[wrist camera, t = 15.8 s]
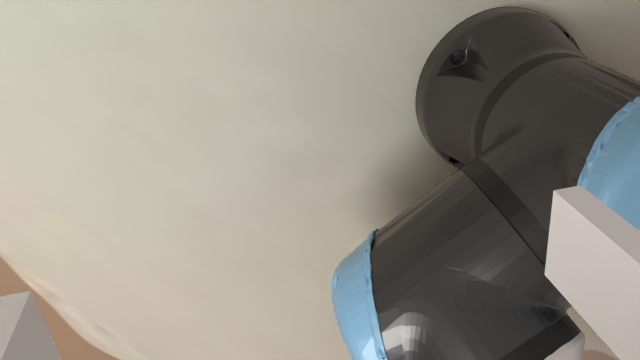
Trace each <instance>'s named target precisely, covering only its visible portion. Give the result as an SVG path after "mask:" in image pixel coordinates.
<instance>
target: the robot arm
mask: <svg viewBox="0 0 640 360" xmlns="http://www.w3.org/2000/svg"><path fill="white" fill-rule="evenodd" d="M416 114H417V119H418V123H419V126H420V129H421V131H422V133H423V135H424V137H425V139H426V140H427V142H428V143H429V144H430V145H431V146H432V148H433V149H434V150H435V151H436V152H437V153H438V154H439V155H440V156H441V157H442V158H443V159H444V160H445V161H447V162H448V163H449V164H451V165H453V166H454V167H456V168H458V169H459V170H458V171H456V172H455V173H454V174H452V175H451V176H450V177H448V178H447V179H446V180H444V181H443V182H442V183H440V184H439V185H438V186H437V187H435V188H434V189H433V190H431V191H430V192H429V193H427V194H426V195H425V196H423V197H422V198H421V199H419V200H418V201H417V202H415V203H414V204H413V205H411V206H410V207H409V208H408V209H406V210H405V211H404V212H402V213H401V214H400V215H398V216H397V217H396V218H394V219H393V220H392V221H390V222H389V223H388V224H386V225H385V226H384V227H382V228H381V229H376V230H374V231H373V232H372V233H370V234H369V236H368V238H367V240H366V241H364V242H363V243H362V244H361V245H360V246H359V247H357V248H356V249H355V250H354V251H353V252H352V253H350V254H349V255H348V256H347V257H346V258H345V259H343V260H342V261H341V262H340V264H339V265H338V266H337V268H336V270H335V272H334V275H333V280H332V301H333V307H334V311H335V315H336V319H337V322H338V325H339V328H340V331H341V334H342V336H343V339H344V341H345V344H346V346H347V348H348V351H349V353H350V355H351V357H352V359H353V360H583V352H584V339H585V336H584V334H583V333H582V332H581V331H580V329H579V328H578V327H577V326H576V324H575V323H574V322H573V321H572V320H571V318H570V317H569V316H568V315H567V313H566V310H567V309H568V308H570V307H571V306H573V307H574V309H575V310H576V311H577V312H578V313H579V314H580V315H581V316H582V318H583V319H584V320H585V321H586V322H587V323H588V324H589V325H590V327H591V328H592V329H593V330H594V331H595V332H596V333H597V334H598V336H599V337H600V338H601V339H602V340H603V341H604V342H605V343H606V345H607V346H608V347H609V348H610V349H611V350H612V351H613V352H614V354H615V355H616V356H617V357H618V358H619V359H620V360H640V81H637V80H635V79H633V78H630V77H628V76H626V75H623V74H621V73H619V72H616V71H614V70H612V69H609V68H607V67H605V66H602V65H600V64H598V63H595V62H593V61H590V60H588V59H587V57H586V56H585V55H584V54H583V53H581V52H580V49H579V47H578V45H577V44H576V42H575V40H574V39H573V37H572V36H571V35H570V34H569V32H568V31H567V30H566V29H565V28H564V27H562V26H561V25H560V24H559V23H557V22H556V21H554V20H553V19H551V18H549V17H547V16H544V15H542V14H539V13H537V12H534V11H531V10H528V9H524V8H518V7H501V8H495V9H490V10H487V11H484V12H481V13H478V14H476V15H474V16H472V17H470V18H468V19H466V20H465V21H463V22H461V23H460V24H459V25H457V26H456V27H455V28H453V29H452V30H451V31H450V32H449V33H448V34H447V35H446V36H445V37H444V38H443V39H442V40H441V41H440V42H439V43H438V44H437V46H436V47H435V48H434V50H433V51H432V53H431V54H430V56H429V58H428V59H427V61H426V63H425V65H424V67H423V70H422V72H421V75H420V78H419V82H418V86H417V91H416ZM0 360H61V357H60V355H59V353H58V351H57V349H56V346H55V344H54V342H53V340H52V337H51V335H50V333H49V331H48V328H47V326H46V324H45V322H44V320H43V317H42V315H41V313H40V310H39V308H38V306H37V304H36V301H35V299H34V297H33V295H32V293H31V291H28V292H23V293H17V294H13V295H7V296H2V297H0Z"/></svg>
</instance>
